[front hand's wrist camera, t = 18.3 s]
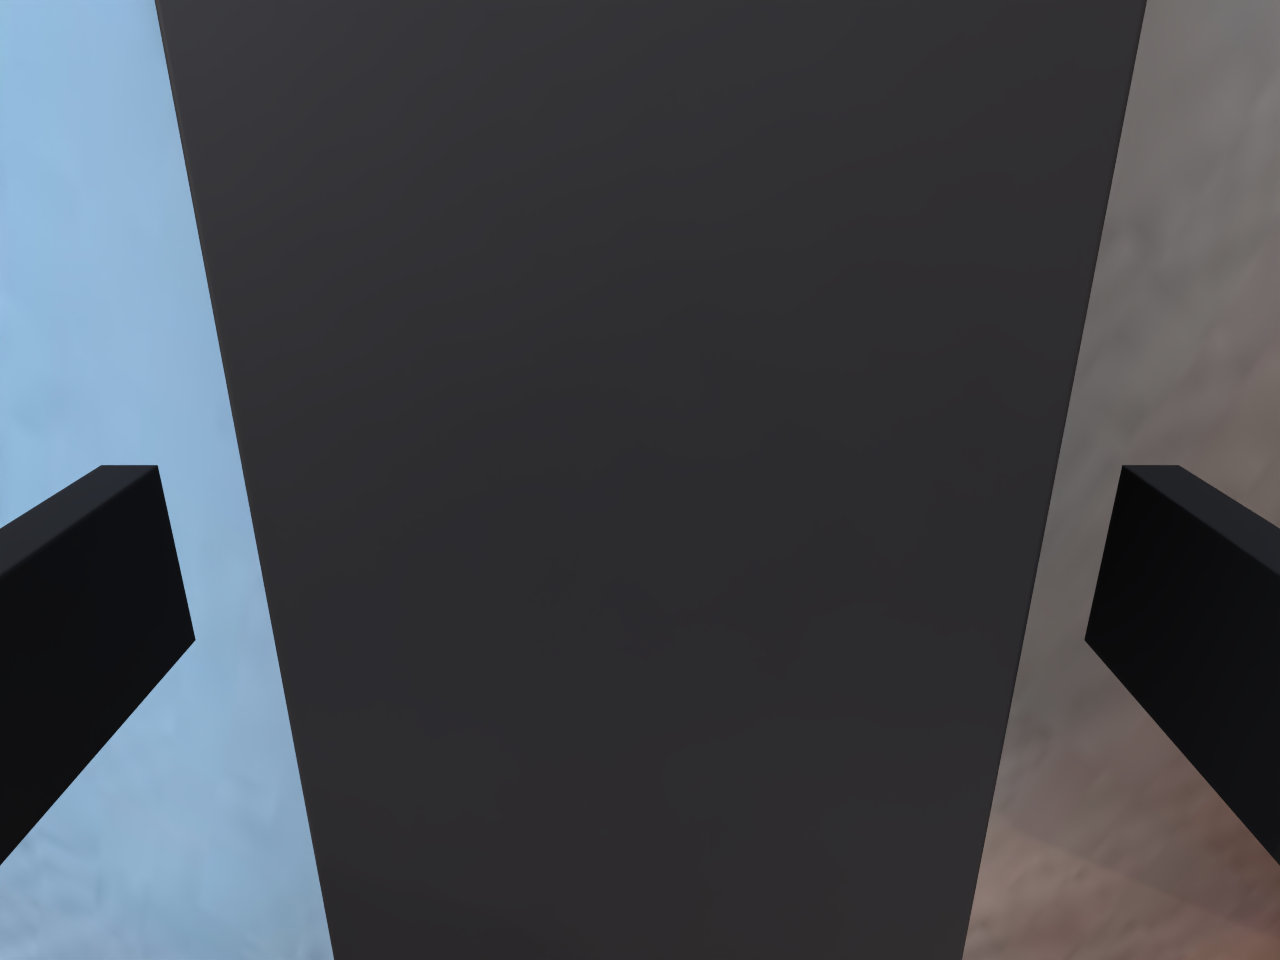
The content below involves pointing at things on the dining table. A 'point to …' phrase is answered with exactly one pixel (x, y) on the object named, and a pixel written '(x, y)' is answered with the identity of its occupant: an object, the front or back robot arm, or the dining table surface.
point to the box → (649, 443)
